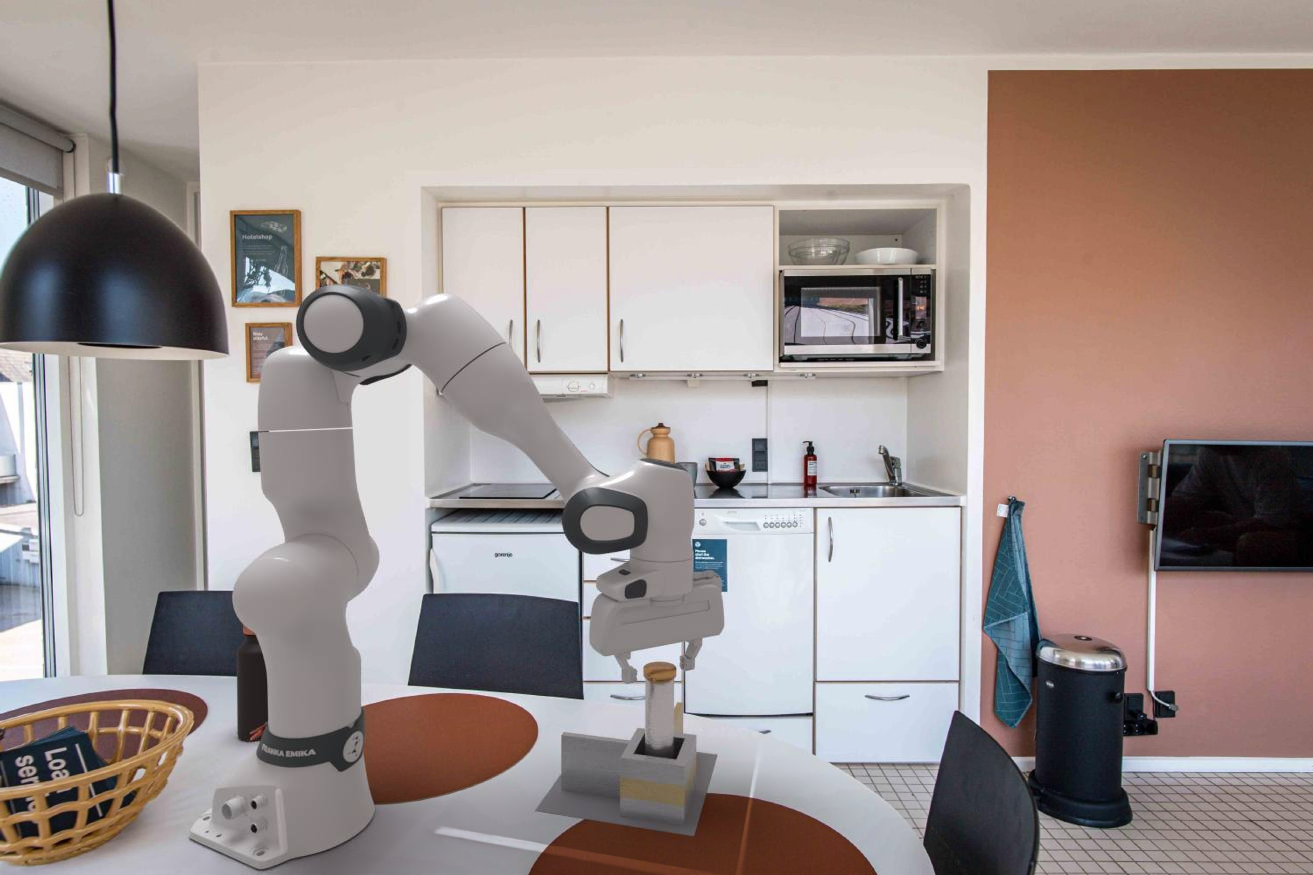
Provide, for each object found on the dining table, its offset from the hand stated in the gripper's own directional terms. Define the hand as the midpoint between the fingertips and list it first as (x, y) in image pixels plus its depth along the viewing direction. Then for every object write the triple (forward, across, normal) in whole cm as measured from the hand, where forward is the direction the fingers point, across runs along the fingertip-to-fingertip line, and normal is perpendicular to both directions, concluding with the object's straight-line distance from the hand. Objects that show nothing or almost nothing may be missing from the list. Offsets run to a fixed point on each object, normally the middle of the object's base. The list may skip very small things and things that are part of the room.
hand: (658, 675), depth 90 cm
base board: (+19, 0, -6) cm, 20 cm away
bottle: (+20, +47, -54) cm, 75 cm away
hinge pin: (+18, 0, 0) cm, 18 cm away
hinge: (+18, 0, -7) cm, 19 cm away
